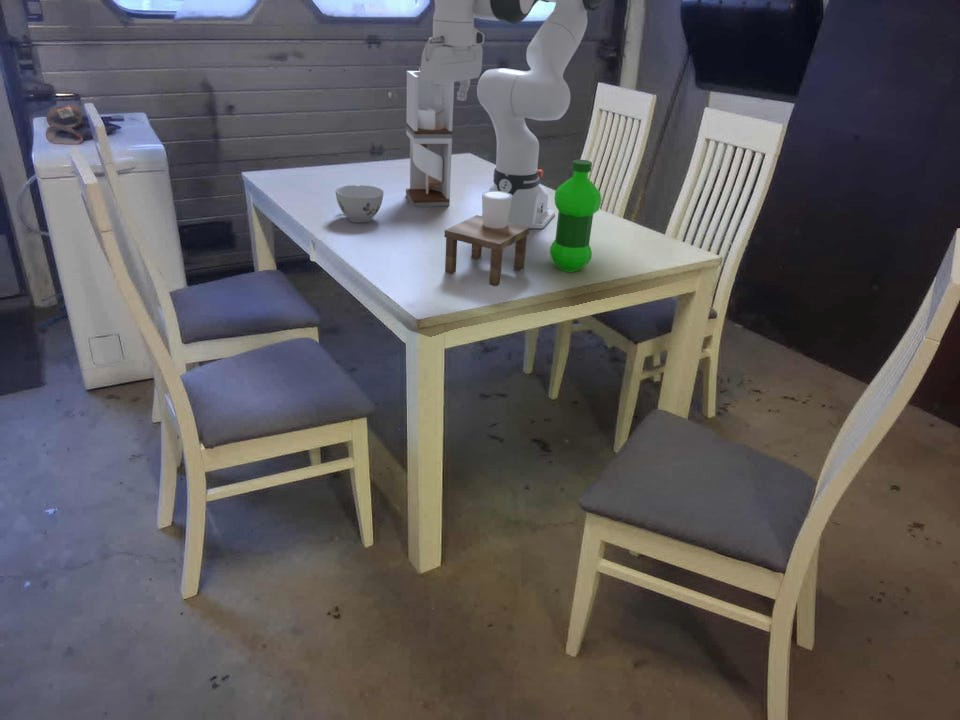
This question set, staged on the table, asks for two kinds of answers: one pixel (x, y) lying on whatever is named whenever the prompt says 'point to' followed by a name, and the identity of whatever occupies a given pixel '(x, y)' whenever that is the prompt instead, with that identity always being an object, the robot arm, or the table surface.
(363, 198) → the teacup
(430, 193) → the display case
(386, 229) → the table surface
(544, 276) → the table surface
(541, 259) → the table surface
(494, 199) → the white cup
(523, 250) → the wooden stool
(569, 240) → the plastic bottle
